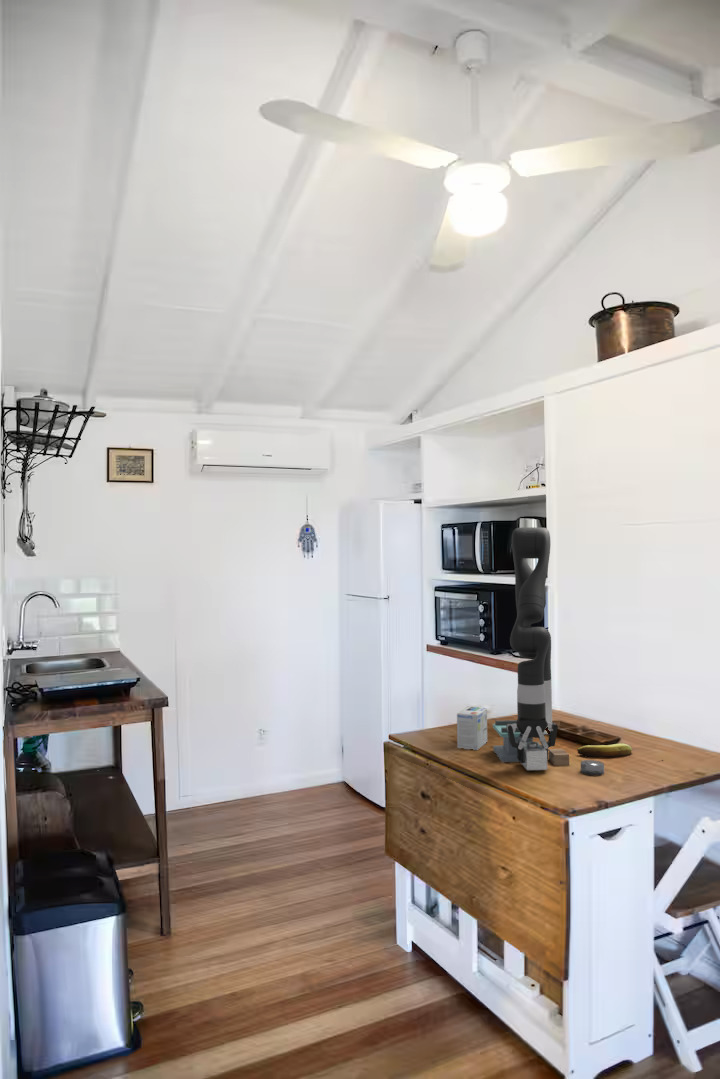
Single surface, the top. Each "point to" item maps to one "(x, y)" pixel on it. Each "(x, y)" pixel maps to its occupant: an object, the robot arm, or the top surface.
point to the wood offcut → (558, 757)
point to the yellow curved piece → (605, 750)
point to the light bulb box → (472, 728)
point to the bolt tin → (592, 767)
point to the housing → (534, 756)
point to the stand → (507, 741)
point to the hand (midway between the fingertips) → (532, 761)
